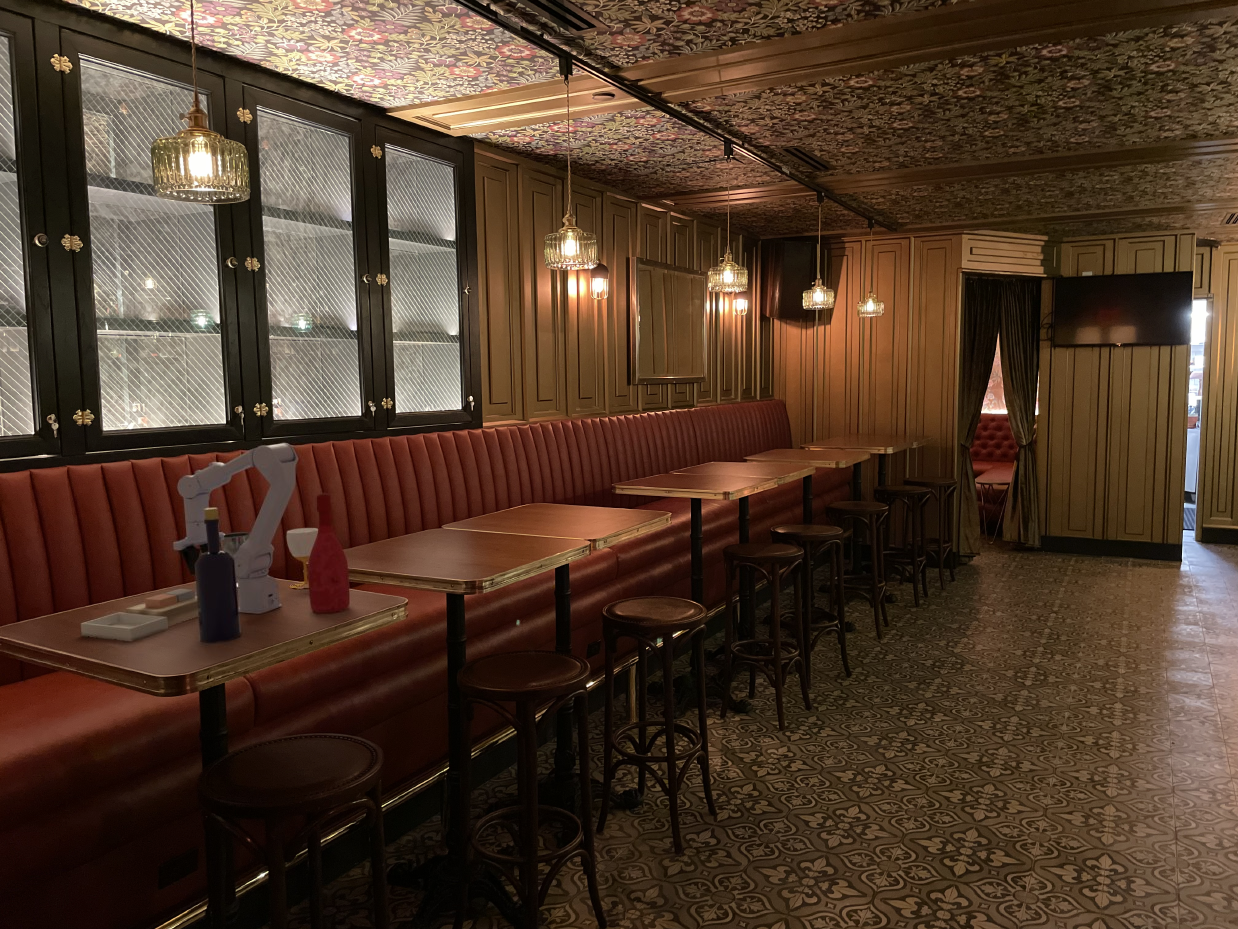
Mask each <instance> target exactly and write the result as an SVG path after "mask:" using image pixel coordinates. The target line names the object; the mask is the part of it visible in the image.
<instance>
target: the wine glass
mask: <svg viewBox="0 0 1238 929" xmlns="http://www.w3.org/2000/svg"><path fill="white" fill-rule="evenodd" d="M250 534H251V532H248V531H246V532H245V531H240V532H239V531H238V532H228V533H224V540H220V543H221V546H220V547H221V550H222V551H228V552H229V553H230V554H231V555H232V556H233V555H234V554H236V553H237V551H238V549H239V547H240V546H241V545H242V544H243V543H244V542H245V541H246V540H247V539H248V538H249V536H250ZM237 587H238V581H237Z"/></svg>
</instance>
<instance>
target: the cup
mask: <svg viewBox="0 0 1238 929" xmlns="http://www.w3.org/2000/svg"><path fill="white" fill-rule="evenodd" d="M317 534H318V528H315V527H303V528H302V527H301V528H293V529H290V530H287V531H286V542H287V547H288V549H289V552H290V553H291V555H292V557H294V559H296V560H298V561H300V562H302V565H303V577H304V578H303V580H304V581H299V582H298V583H303V584H308V565H307V562H308V561H309V557H310V553H311V550H312V547H313V545H314V542H315V540H316V537H317ZM294 584H295V583H294ZM303 584H295V585H297V586H299V585H300V586H301V585H303ZM291 585H292V584H291ZM291 585H289V588H290V589H292V588H298V589H297V590H300V589H299V588H304V587H296V586H293V585H292V586H291ZM306 588H307V587H306ZM308 588H309V585H308Z"/></svg>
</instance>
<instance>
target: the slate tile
mask: <svg viewBox="0 0 1238 929" xmlns="http://www.w3.org/2000/svg"><path fill="white" fill-rule="evenodd" d="M163 594H169V595H177V602H182V601H186V600H189V599H192V598H195V596H196V590H195V589H188V588H186V589H185V588H177V589H175V590H171V591H168V592H164V593H163Z"/></svg>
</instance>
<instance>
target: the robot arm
mask: <svg viewBox="0 0 1238 929" xmlns="http://www.w3.org/2000/svg"><path fill="white" fill-rule="evenodd" d="M298 461H299V457H298V455H297V453H296V451H295V449H294V447H293V446H292V445H291V444H289V443H287V442H281V443H277V444H270V445H259V446H258V447H255V448H252V449H249V450H248V451H246V452H244V453H242V454H241V455H239V456H237V457H235V458H233V459H232V460H229V461H228V462H226V463H223V462H217V461H213V462H209V463H208V467H206V468H203V469H202V470H201V469H197V470H196V471H194V474H193V475H184V476H182V477H181V478H180V479H179V480H178V483H177V491H178V493H179V495H180V496H181V497H182V498H183V506H184V515H185V516H184V517H185V518H184V519H185V529H186V530H185V531H186V537H184V538H183V539H180V540H178V541H174V542H172V544H173V550H174V551H178V553H179V554H180V555H181V557H182V558H183V560H184V562H185V563H186V565H187V568H188V571H189V574H190V575H195V563H196V561H197V560H198V558H199V557H200V555H201V554H202V553H205V552H208V543H207V533H206V524H204V519H205V512H204V509H206V508H210V505H209V504H210V503H209V501H210V499H211V498H210V494H211V492H212V491H213V490H215V489H218V488H220V487H222V486H224V485H225V484H228V483H230V481H231V479H232V476H233V475H235V474H238V473H240V472H243V471H244V470H247V469H249V468H256V469H257V470H258V472H260V474H261V475H262V476H263V477H264V479H265V480H266V481H267V482H268V483H269V486H270V487H269V489H268V490H267V493H266V495H265V498H264V500H263V503H262V505H261V508H260V510H259V513H258V515H257V516H256V520H255V522H254V525H253V527H252V529H251V531H250V536H249V538H248V539H247V540H246V541H245V542H244V543H243V544H242V545H241V546H240V547H239V549H238V551H237V553H236V554H234V555H233V557H234V558H235V567H236V580H237V581H238V588H237V592H238V605H239V613H246V614H254V615H255V614H258V615H260V614H264V613H268V612H270V611H272V610H275V609H277V608H281V607H282V606H283V604H281V603H280V594H279V592H280V591H279V583H278V581H277V579H276V578H275V577H273V576H270V575H269V568H271V566H272V564H273V554H274V553H273V552H274V550H275V547H274V546H273V544H272V541H273V539H274V536H275V534H276V531H277V529H278V527H279V524H280V522H281V521H282V517H283V516H284V513H285V511H286V508H287V506H288V504H289V501H290V499H291V497H292V494H293V492H294V489H295V487H296V484H297V483H296V476H297V475H296V474H297V473H296V466H297V463H298ZM224 534H225V533H224V532H219V541H221V540H224ZM196 546H199V548H197V547H196ZM220 547H222V546H221V542H220ZM200 553H201V554H200Z"/></svg>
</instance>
